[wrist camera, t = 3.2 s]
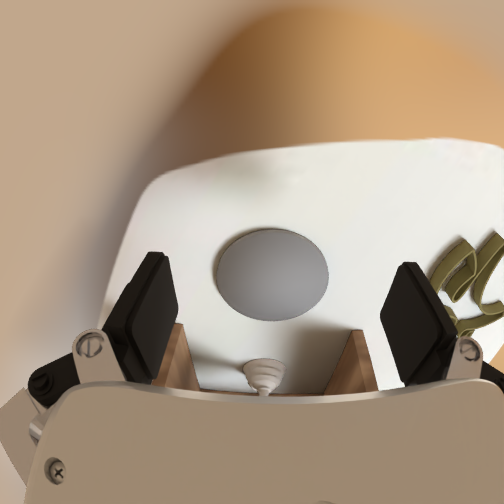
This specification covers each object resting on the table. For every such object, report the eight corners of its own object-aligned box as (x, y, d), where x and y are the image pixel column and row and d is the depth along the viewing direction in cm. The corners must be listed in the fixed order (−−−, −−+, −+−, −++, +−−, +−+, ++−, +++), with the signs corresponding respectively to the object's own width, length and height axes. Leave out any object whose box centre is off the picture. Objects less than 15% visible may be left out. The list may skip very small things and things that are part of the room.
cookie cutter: (498, 312, 25) (504, 321, 23) (432, 355, 29) (437, 366, 28) (495, 212, 18) (507, 222, 16) (403, 276, 22) (411, 290, 20)
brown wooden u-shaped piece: (362, 330, 25) (384, 417, 17) (329, 396, 34) (335, 459, 25) (171, 323, 26) (143, 410, 18) (193, 391, 34) (180, 454, 26)
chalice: (295, 352, 28) (300, 518, 13) (296, 382, 31) (298, 517, 16) (228, 355, 28) (208, 514, 13) (238, 384, 32) (225, 516, 17)
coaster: (336, 232, 20) (338, 236, 19) (317, 317, 24) (318, 322, 24) (214, 227, 20) (213, 230, 19) (220, 313, 25) (219, 318, 24)
